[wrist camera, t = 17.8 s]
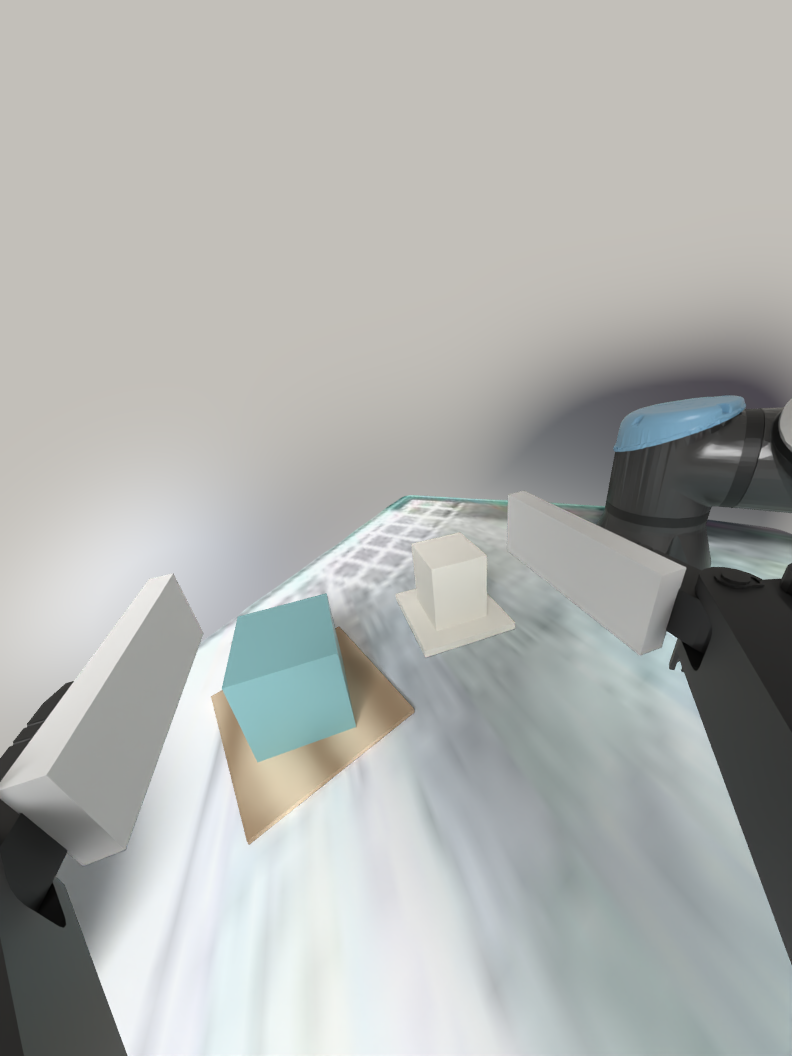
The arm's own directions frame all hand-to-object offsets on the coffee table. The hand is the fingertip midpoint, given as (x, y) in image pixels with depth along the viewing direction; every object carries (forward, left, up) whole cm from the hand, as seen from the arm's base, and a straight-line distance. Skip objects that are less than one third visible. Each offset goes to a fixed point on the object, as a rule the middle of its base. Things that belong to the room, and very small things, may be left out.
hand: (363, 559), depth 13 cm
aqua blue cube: (+1, -16, -23) cm, 28 cm away
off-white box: (-20, -16, -24) cm, 35 cm away
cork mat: (+1, -16, -24) cm, 29 cm away
